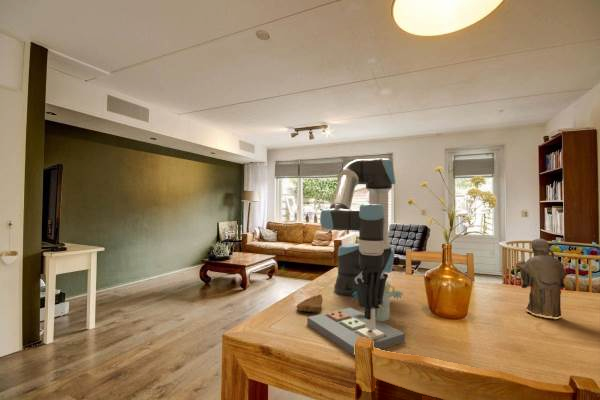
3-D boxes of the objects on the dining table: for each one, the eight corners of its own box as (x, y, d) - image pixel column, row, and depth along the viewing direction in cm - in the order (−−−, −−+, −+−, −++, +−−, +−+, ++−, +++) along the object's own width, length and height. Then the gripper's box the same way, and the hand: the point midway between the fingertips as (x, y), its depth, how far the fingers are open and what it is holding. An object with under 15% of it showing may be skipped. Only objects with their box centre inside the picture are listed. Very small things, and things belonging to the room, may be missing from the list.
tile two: (354, 326, 101) (354, 316, 101) (366, 332, 96) (366, 322, 96) (340, 329, 98) (340, 320, 98) (352, 337, 93) (352, 326, 93)
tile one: (370, 335, 94) (370, 325, 94) (384, 343, 89) (384, 332, 89) (356, 339, 91) (356, 329, 91) (370, 347, 86) (370, 336, 86)
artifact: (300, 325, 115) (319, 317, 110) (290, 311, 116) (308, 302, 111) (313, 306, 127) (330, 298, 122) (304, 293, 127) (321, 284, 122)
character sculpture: (356, 323, 104) (356, 286, 104) (349, 312, 116) (349, 278, 116) (410, 323, 105) (411, 286, 105) (398, 312, 116) (399, 278, 116)
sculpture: (567, 315, 114) (567, 239, 115) (566, 323, 107) (566, 242, 107) (518, 306, 125) (518, 236, 125) (514, 312, 117) (514, 238, 118)
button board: (350, 313, 113) (350, 307, 114) (405, 341, 91) (405, 333, 91) (307, 324, 103) (307, 317, 103) (356, 357, 81) (356, 348, 81)
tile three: (339, 318, 108) (339, 309, 108) (350, 324, 103) (350, 314, 103) (326, 321, 105) (326, 312, 105) (336, 327, 100) (336, 318, 100)
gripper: (377, 249, 97) (376, 320, 97) (347, 253, 91) (346, 328, 90) (394, 253, 91) (394, 328, 91) (363, 257, 84) (363, 338, 84)
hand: (370, 328), depth 91 cm, fingers closed
